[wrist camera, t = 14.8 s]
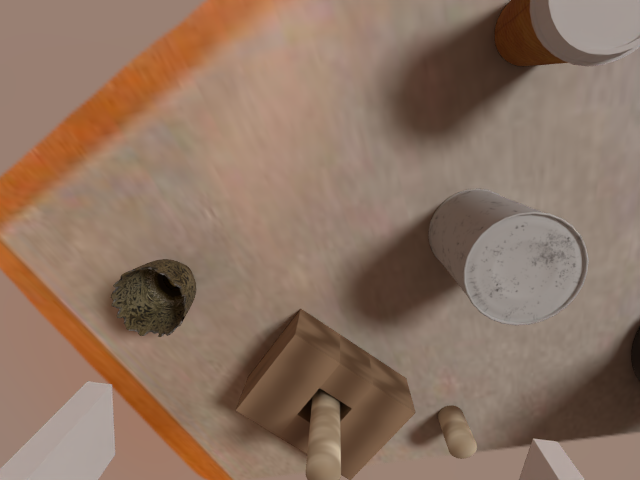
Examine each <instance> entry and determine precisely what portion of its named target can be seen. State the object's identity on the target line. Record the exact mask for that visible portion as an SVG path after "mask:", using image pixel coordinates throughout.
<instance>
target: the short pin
mask: <svg viewBox="0 0 640 480" xmlns="http://www.w3.org/2000/svg"><path fill="white" fill-rule="evenodd" d="M438 420H439V423H440V426H441V429H442V432H443V435H444V438H445V441H446V443H447V446H448V449H449V452H450V454H451V455H452V456H454V457H456V458H460V459H462V458H468V457H470V456H472V455H473V454H474V453H475V452H476V449H477V444H476V442H475V440H474V437H473V435H472V433H471V430H470V428H469V426H468V424H467V421H466V419H465V417H464V414H463V412H462V410H461V409H460V408H458V407H456V406H446V407H444V408H442V409H441V410H440V411H439V413H438Z"/></svg>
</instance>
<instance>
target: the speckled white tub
mask: <svg viewBox="0 0 640 480" xmlns="http://www.w3.org/2000/svg"><path fill="white" fill-rule="evenodd" d="M429 242H430V246H431V249H432V251H433V253H434V255H435V256H436V258H437V259H438V260H439V261H440V262H441V263H442V264H443V265H444V267H445V268H446V269H447V270H448V272H449V273H450V274H451V276H452V277H453V278H454V279H455V281H456V282H457V283H458V284H459V286H460V287H461V288H462V290H463V291H464V292H465V293H466V295H467V296H468V297H469V299H470V301H471V303H472V304H473V305H474V306H475V307H476V308H477V309H478V310H479V312H480V313H482V314H483V315H485V316H487V317H488V318H490V319H492V320H494V321H497V322H500V323H503V324H510V325H529V324H533V323H537V322H541V321H544V320H546V319H548V318H550V317H552V316H554V315H556V314H557V313H559V312H560V311H561V310H563V309H564V308H566V307H567V306H568V305H569V304H570V303H571V302H572V300H573V299H574V298H575V297H576V296H577V294H578V293H579V291H580V289H581V288H582V286H583V284H584V281H585V278H586V275H587V270H588V254H587V248H586V246H585V243H584V241H583V239H582V237H581V235H580V234H579V233H578V232H577V230H576V229H575V228H574V227H573V226H572V225H571V224H569V223H568V222H566V221H565V220H564V219H562V218H560V217H557V216H554V215H552V214H549V213H543V212H541V211H538V210H536V209H533V208H531V207H528V206H526V205H523V204H520V203H518V202H515V201H513V200H510V199H508V198H505V197H503V196H500V195H499V194H497V193H495V192H492V191H489V190H485V189H469V190H465V191H462V192H459V193H456V194H455V195H453V196H451V197H449V198H448V199H447V200H446V201H444V202H443V203H442V204H441V205H440V206H439V208H438V209H437V210H436V212H435V213H434V215H433V218H432V220H431V222H430V227H429Z"/></svg>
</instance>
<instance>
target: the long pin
mask: <svg viewBox="0 0 640 480" xmlns="http://www.w3.org/2000/svg"><path fill="white" fill-rule="evenodd" d="M306 477H307V479H308V480H340V478H341V441H340V401H339V400H338V399H336V398H335V397H333V396H331V395H330V394H328V393H327V392H325V391H324V390H322V389H320V388H319V389H318V390H317V392H316V393H315V394H314V395H313V396H312V407H311V418H310V430H309V441H308V452H307V464H306Z"/></svg>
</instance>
